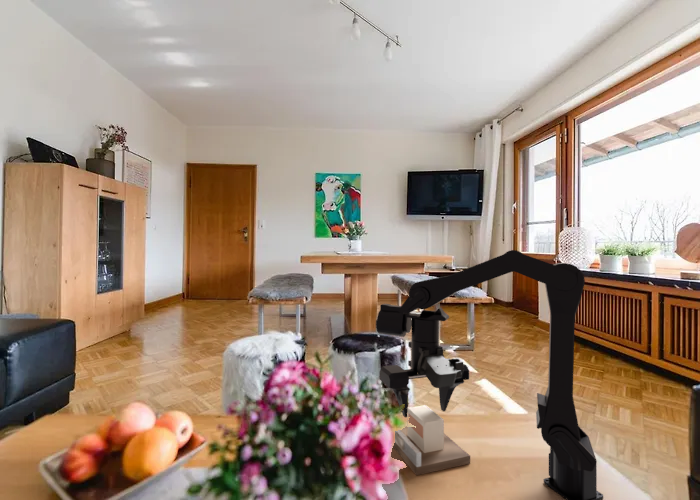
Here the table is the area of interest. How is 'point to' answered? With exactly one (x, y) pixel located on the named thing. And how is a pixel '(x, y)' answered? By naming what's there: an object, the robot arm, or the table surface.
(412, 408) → the carton
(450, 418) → the table surface
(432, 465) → the shelf board
